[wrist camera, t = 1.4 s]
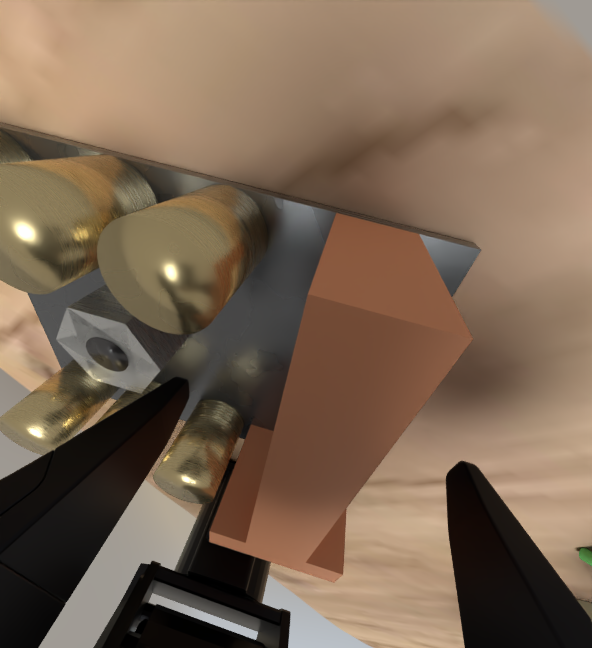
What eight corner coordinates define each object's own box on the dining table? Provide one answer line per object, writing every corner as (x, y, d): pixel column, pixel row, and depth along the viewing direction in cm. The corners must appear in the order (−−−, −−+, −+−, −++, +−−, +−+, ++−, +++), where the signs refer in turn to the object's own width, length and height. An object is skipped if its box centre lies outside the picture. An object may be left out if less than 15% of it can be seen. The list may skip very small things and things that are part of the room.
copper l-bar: (471, 247, 8) (581, 368, 4) (342, 465, 17) (333, 582, 12) (286, 200, 9) (211, 267, 4) (248, 437, 17) (209, 541, 13)
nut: (189, 367, 14) (164, 401, 12) (106, 342, 14) (69, 372, 13) (186, 302, 12) (154, 333, 10) (86, 274, 12) (37, 299, 10)
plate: (345, 460, 17) (340, 550, 13) (77, 378, 18) (3, 442, 14) (475, 243, 9) (553, 324, 5) (-34, 114, 10) (-276, 104, 6)
